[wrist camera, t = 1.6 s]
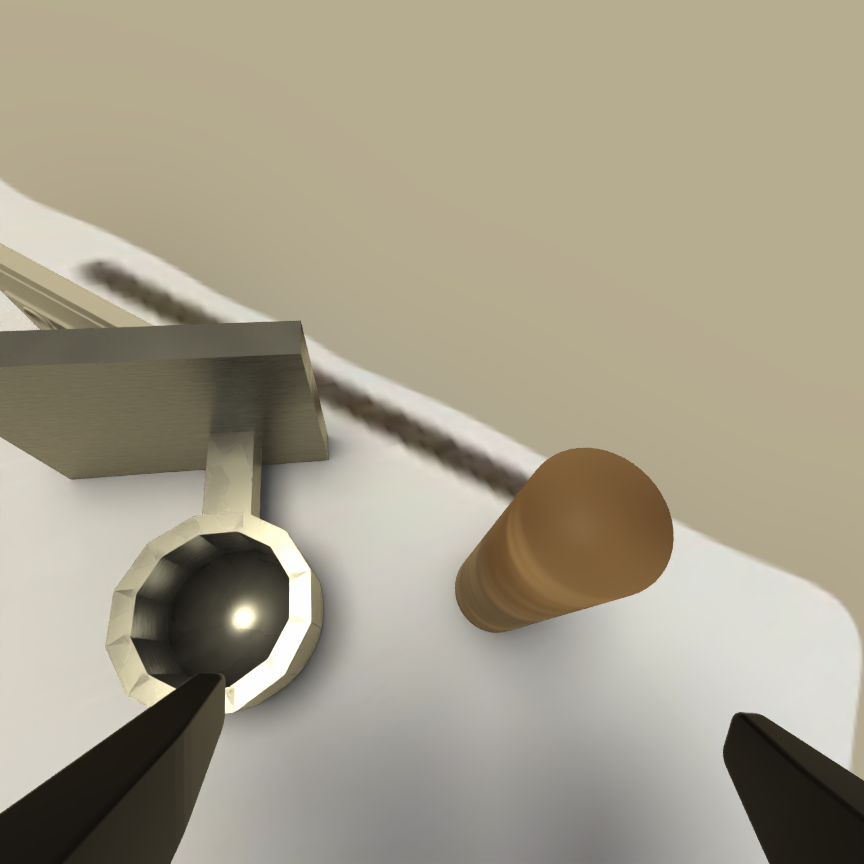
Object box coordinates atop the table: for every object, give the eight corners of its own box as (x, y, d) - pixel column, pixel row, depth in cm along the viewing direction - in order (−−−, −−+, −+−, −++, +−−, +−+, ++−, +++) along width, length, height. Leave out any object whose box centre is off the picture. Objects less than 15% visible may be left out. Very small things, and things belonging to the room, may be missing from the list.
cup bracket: (335, 692, 22) (302, 711, 13) (15, 737, 20) (-289, 796, 11) (327, 435, 27) (300, 320, 18) (76, 452, 25) (-92, 334, 16)
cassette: (38, 341, 28) (-73, 236, 21) (64, 320, 29) (-35, 212, 22) (205, 436, 26) (143, 355, 20) (227, 410, 27) (175, 324, 20)
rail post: (541, 626, 24) (695, 588, 12) (461, 637, 23) (542, 607, 11) (524, 545, 25) (645, 442, 14) (450, 553, 25) (510, 453, 13)
